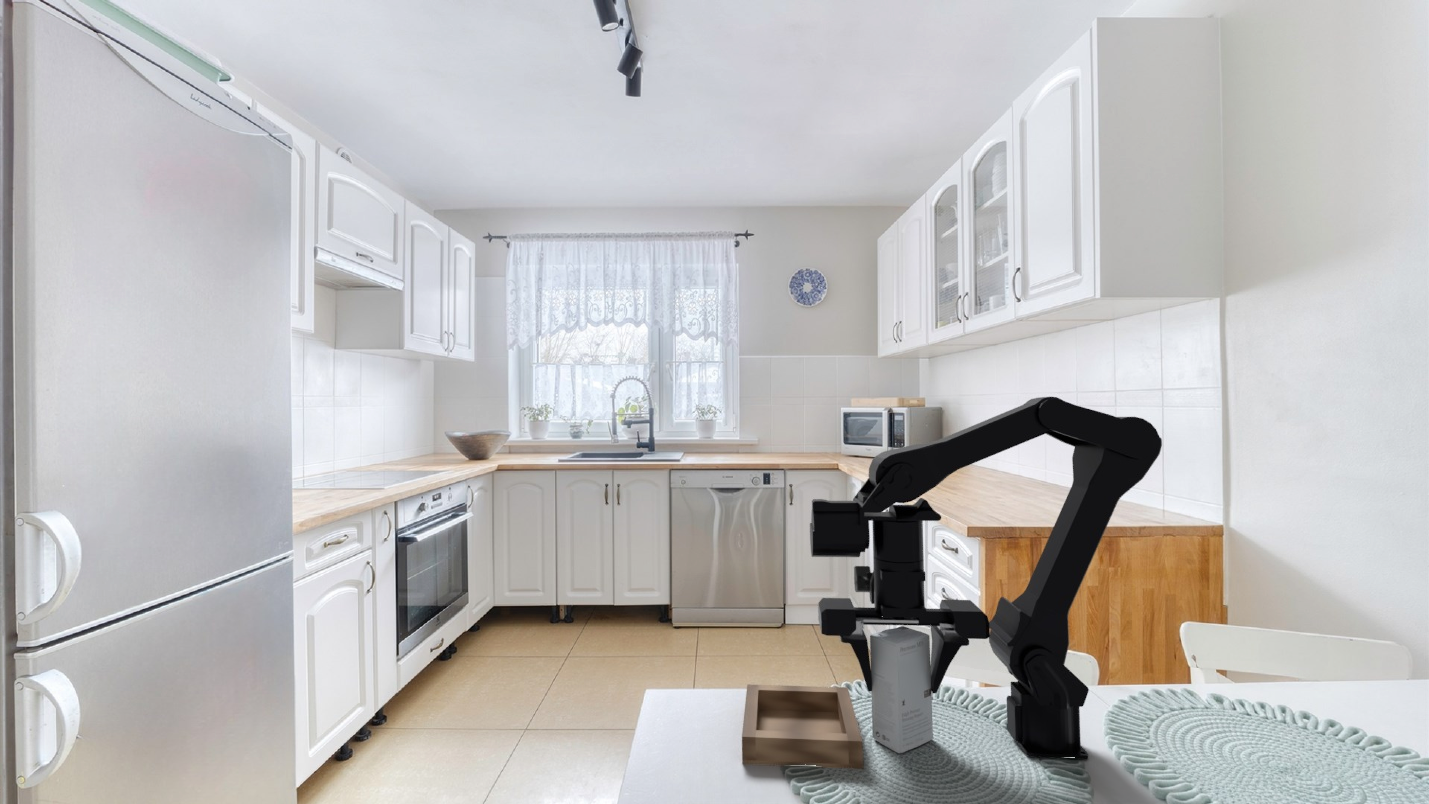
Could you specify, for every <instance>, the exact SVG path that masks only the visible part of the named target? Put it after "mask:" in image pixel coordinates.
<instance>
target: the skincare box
mask: <svg viewBox="0 0 1429 804" xmlns="http://www.w3.org/2000/svg"><path fill="white" fill-rule="evenodd" d="M930 639H931V638H930V634H928V633H925V632H922V631H919V630H916V629H913V628H910V627H906V626H905V625H900V626H898V627H893V628H888V629H884V630H882V631H879V632H876V633H873V634H870V636H869V640H870V641H869V642H870V643H869V648H870V651H869V655H870V667H871V676H872V691H870V693H871V720H872V721H871V722H872V723H871V725H872V727H871V730H872V738H873V740H875V741H877V742H878V743H879V744H881V745H883V746H884V747H886V748H888V749H890V750H892V751H893V752H896V753H897V754H903V753H905V752H908V751H910V750H912V749H915V748H917V747H920V746H922V745H924V744H926V743H928V742H930V741H931V740H932V739H933V738H934V727H933V722H934V721H933V701H932V700H933V697H932V694H933V692H932V691H931V644H930Z"/></svg>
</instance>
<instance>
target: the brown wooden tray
mask: <svg viewBox="0 0 1429 804" xmlns="http://www.w3.org/2000/svg"><path fill="white" fill-rule="evenodd" d="M828 687H829V688H828ZM745 693H746V694H745V703H744V711H743V712H744V713H743V723H742V724H743V725H742V732H741V733H742V734H741V750H742V751H741V763H742V765H757V766H760V765H761V766H780V767H781V766H783V767H785V766H784V765H805V764H806V765H816V766H822V767H821V768H826V769H827V768H828V769H830V768H831V769H855V770H856V769H857V770H864V754H863V753H864V751H863V750H864V749H863V743H864V742H863V738H862V735H861V731H860V727H859V724H858V720H857V717H856V712H855V709H854V705H853V702H852V697H851V695H850V691H849V687H847V686H845V687H844V686H842V687H840V686H815V685H814V686H813V685H811V686H809V685H807V686H806V685H783V684H782V685H781V684H779V685H775V684H773V685H772V684H747V685H746V692H745Z"/></svg>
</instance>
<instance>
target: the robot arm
mask: <svg viewBox="0 0 1429 804" xmlns="http://www.w3.org/2000/svg"><path fill="white" fill-rule="evenodd" d="M1045 434H1046V436H1049V437H1052V438H1053V439H1055V440H1057V441H1059V442H1060V443H1061V442H1062V443H1063V444H1066V445H1068V446H1069V445H1070V446H1071V447H1074V449H1073V453H1072V457H1071V458H1072V459H1071V460H1072V476H1073V477H1072V478H1073V479H1072V485H1071V487H1070V489H1069V491H1068V493H1067V497H1066V499H1065V501H1064V503H1063V505H1062V507H1061V509H1060V512H1059V513H1058V516H1057V518H1056V521H1055V523H1054V525H1053V528H1052V530H1051V532H1050V534H1049V536H1048V539H1047V541H1046V544H1045V546H1044V548H1043V550H1042V553H1041V554H1040V557H1039V559H1038V562H1037V564H1036V565H1035V568H1034V570H1033V572H1032V575H1031V577H1030V579H1029V582H1028V583H1027V586H1026V588H1025V590H1024V591H1023V592H1022V593H1021V594H1020V595H1019V596H1018V597H1017V598H1015V599H1014V600H1012V601H1010V600H1008V599H1007V598H1005V596H1001V597H1000V599H998V602H997V607H996V610H995V613H994V615H993V617H992V618H991V619H990V620H989V617H988V615H987V614H986V613H985V612H984V611H983V610H981V608H979V607H978V606H977V605H976V604H975V603H974V602H973V601H972V600H971V599H941V601H940V603H939V608H926V603H925V601H926V599H925V582H926V572H925V563H924V561H925V559H924V558H925V557H924V524H923V521H924V522H926V521H927V522H928V521H929V522H933V521H934V522H937V521H938V522H939V521H941V519H942V515H941V514H940V513H938V512H937V511H936V510H934V509H933V507H932V506H931V505H930V503H929V502H928V500H927V499H925V498H923V497H921V496H923V495H924V494H926V493H928V492H929V491H931V490H932V489H934V488H936V487H938V485H939V484H940V483H942V482H943V481H944V480H946V479H947V477H949V476H950V475H952V474H953V473H955V472H956V471H958V470H961V469H962V468H965V467H967V466H970V465H973V464H976V463H977V462H979V461H983V460H984V459H988V458H989V457H991V456H994V455H996V454H999V453H1001V452H1004V451H1006V450H1008V449H1011V448H1014V447H1016V446H1019V445H1021V444H1024V443H1026V442H1029V441H1030V440H1033V439H1036V438H1038V437H1041V436H1043V435H1045ZM1162 445H1163V440H1162V437H1160V435H1159V433H1158V430H1157V429H1156V428H1155V426H1154V425H1153V424H1152V423H1151V422H1149V421H1148V420H1146V419H1144V418H1142V417H1137V416H1114V415H1112V414H1108V413H1105V412H1101V411H1097V410H1095V409H1091V408H1087V407H1083V406H1080V405H1076V404H1074V403H1070V402H1068V401H1065V400H1063V399H1061V398H1060V397H1057V396H1041V397H1035V398H1030V399H1029V400H1027V401H1026V402H1025V403H1023V404H1022V405H1020V406H1017V407H1014V408H1012V409H1009V410H1007V411H1004V412H1003V413H1000V414H997V415H995V416H992V417H991V418H988V419H985V420H983V421H981V422H978V423H976V424H974V425H971V426H969V427H967V428H966V427H965V428H963V429H962V430H959V431H957V432H954V433H952V434H950V435H947V436H945V437H942V438H940V439H937V440H932V441H929V442H924V443H918V444H913V445H906V446H903V447H898V448H894V449H890V450H885V451H882V452H880V453H878V454H877V455H876V456H875V457H874V458H872V460H871V463H870V464H869V468H868V478H867V480H866V481H865V482H864V483H863V485H862V486H861V488H859V490H858V491H857V493H856V494H855V496H854V497H853V499H852V500H827V499H823V498H816V499H815V498H814V499H812V500H811V517H810V519H811V521H810V522H809V542H810V543H809V545H810V554H811V557H812V558H860V556H861V553H865V552H866V549H867V550H868V549H869V548H870V538H871V537H870V523H869V521H872V555H873V556H872V557H873V560H872V561H873V564H872V566H873V571H872V572H871V567H870V566H869V565H855V566H854V567H853V573H854V574H853V575H854V576H853V579H854V590H855V592H856V593H869V602H870V604H872V605H874V606H873V607H858V606H856V607H855V606H854V604H853V602H852V599H851V598H850V597H849V598H848V597H847V598H846V597H821V599H820V600H819V602H818V603H817V604H818V605H817V606H818V607H817V614H818V615H817V616H818V617H817V618H818V619H817V620H818V625H819V629H820V633H821V635H824V636H827V637H828V636H829V637H830V636H831V637H835V636H836V637H837V636H838V637H839V640H840V642H841V643H843V644H850V646H851V648H852V651H853V653H854V655H855V656H856V659H857V660H858V664H859V666H860V669H861V673H862V676H863V679H864V682H865V685H866V689H867V691H868V692H871V691H872V676H871V658H870V651H869V643H868V639H867V637H866V636H867V635H866V634H865V631H864V625H867V626H868V625H871V626H872V625H873V626H876V625H877V626H912V627H913V626H918V627H919V626H920V627H921V626H923V627H930V634H931V650H930V665H931V692H932V694H937V693H938V692H939V691H938V690H939V689H940V687H941V684H942V681H943V680H944V677H945V675H946V673H947V670H948V669H949V667H950V665H951V663H952V661H953V660H954V659H955V657H956V655H957V653H958V652H959V650H960V649H961V648H962V647H967V646H969V645H970V639H972V640H975V639H976V640H987V639H988V642H989V644H990V645H989V646H990V648H991V650H992V652H993V654H994V655H995V657H996V658H997V659H998V660H999V661H1000V662H1001V663H1002V664H1003V666H1005V667H1006V669H1007V671H1008V673H1009V674H1010V675H1012V676H1013V678H1015V679H1016V681H1011V682H1010V695H1007V696H1006V722H1007V723H1006V727H1005V728H1006V730H1007V732H1008V733H1009V735H1010V736H1011V737H1012V738H1013V739H1014V741H1015V742H1016V743H1017V744H1018V746H1019V748H1021V750H1022V751H1023V752H1024V753H1025V755H1026V756H1027V757H1030V758H1046V759H1048V758H1049V759H1062V758H1061V757H1075V758H1076V759H1077V760H1088V759H1089V752H1087V751H1086V749H1085V748H1084V747H1083V746H1082V745H1081V744H1082V743H1081V742H1082V741H1081V717H1080V716H1081V715H1080V707H1084V705H1085V703H1086V700H1087V696H1088V694H1089V692H1090V690H1089V687H1088V686H1087V685H1086V684H1085V683H1084V682H1083V681H1082V680H1081V679H1080V678H1078V677H1077V676H1076V675H1075V674H1074V673H1073V672H1072V671H1071V670H1070V669H1069V668H1068V667H1067V666H1066V665H1065V663H1066V659H1067V654H1068V651H1069V647H1070V631H1069V629H1070V628H1069V614H1070V611H1071V607H1072V606H1073V603H1074V601H1075V599H1076V597H1077V594H1078V592H1079V590H1080V588H1081V585H1082V583H1083V581H1084V578H1085V577H1086V574H1087V573H1088V570H1089V568H1090V565H1091V563H1092V561H1093V560H1094V559H1093V558H1094V556H1095V553H1096V552H1097V550H1098V547H1099V545H1100V543H1101V541H1102V539H1103V537H1104V536H1103V535H1104V533H1105V532H1106V529H1107V528H1108V525H1109V523H1110V521H1111V519H1112V516H1113V514H1114V511H1115V510H1116V509H1115V508H1116V507H1117V504H1118V502H1119V501H1120V499H1121V498H1122V497H1123V496H1124V495H1125V494H1126V493H1128V492H1129V491H1130V490H1131V489H1132V488H1134V486H1136V485H1137V484H1138V483H1140V482H1141V481H1142V480H1143V479H1144V478H1145V476H1146V475H1147V474H1148V472H1149V470H1150V469H1151V468H1152V466H1153V465H1154V463H1155V462H1156V460H1157V459H1158V457H1159V456H1160V454H1161V451H1162ZM916 499H918V500H917V501H916V502H915V503H914V504H907V503H910V502H913V501H915V500H916ZM896 503H897V504H896ZM887 509H888V511H886V510H887ZM1076 759H1075V760H1076Z"/></svg>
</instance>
